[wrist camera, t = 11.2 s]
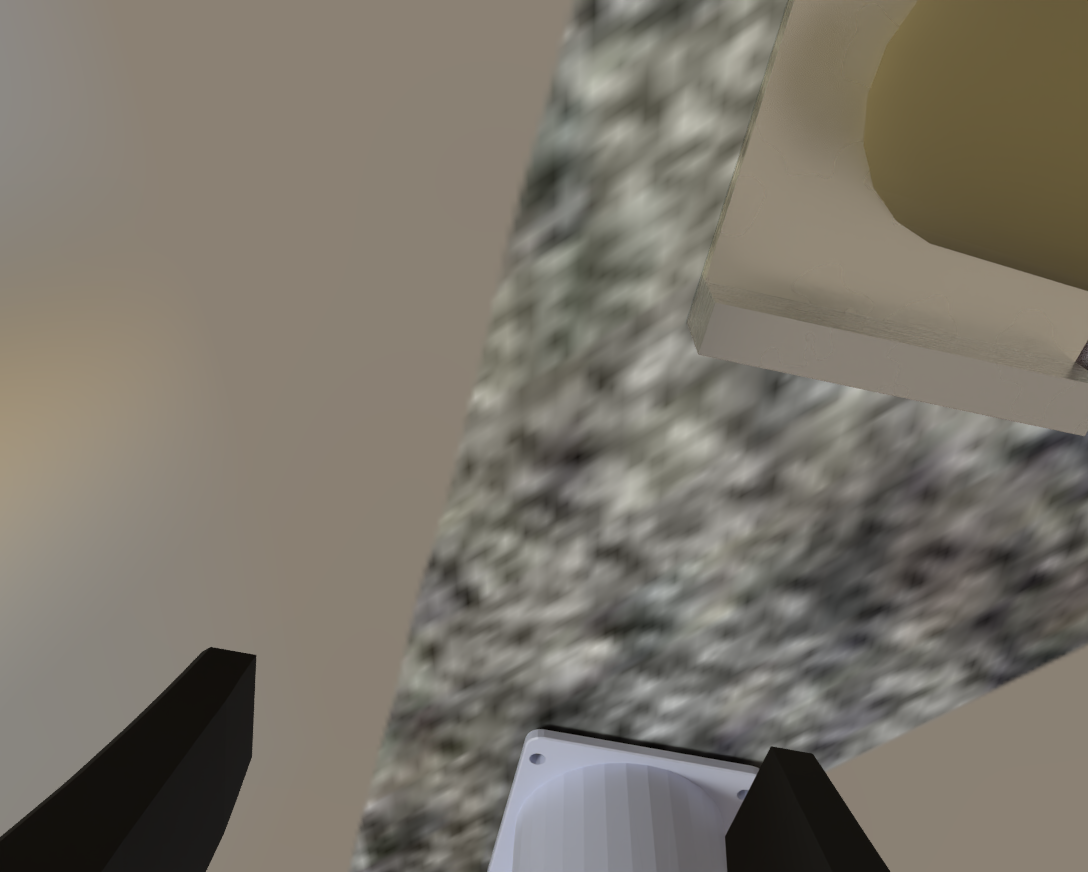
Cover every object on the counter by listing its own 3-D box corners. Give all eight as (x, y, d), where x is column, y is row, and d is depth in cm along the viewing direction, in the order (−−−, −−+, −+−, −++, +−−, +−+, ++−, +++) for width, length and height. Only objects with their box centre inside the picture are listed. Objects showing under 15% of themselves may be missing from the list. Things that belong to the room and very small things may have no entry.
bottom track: (1037, 397, 19) (1084, 436, 18) (686, 322, 19) (698, 354, 17) (1454, -328, 13) (1592, -381, 11) (939, -479, 12) (1000, -561, 11)
